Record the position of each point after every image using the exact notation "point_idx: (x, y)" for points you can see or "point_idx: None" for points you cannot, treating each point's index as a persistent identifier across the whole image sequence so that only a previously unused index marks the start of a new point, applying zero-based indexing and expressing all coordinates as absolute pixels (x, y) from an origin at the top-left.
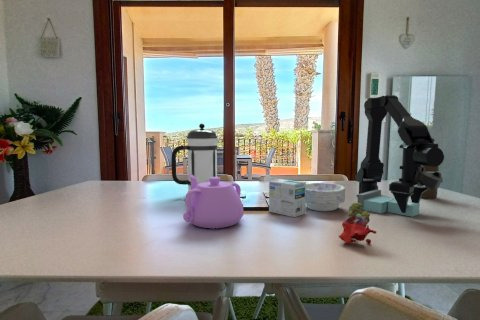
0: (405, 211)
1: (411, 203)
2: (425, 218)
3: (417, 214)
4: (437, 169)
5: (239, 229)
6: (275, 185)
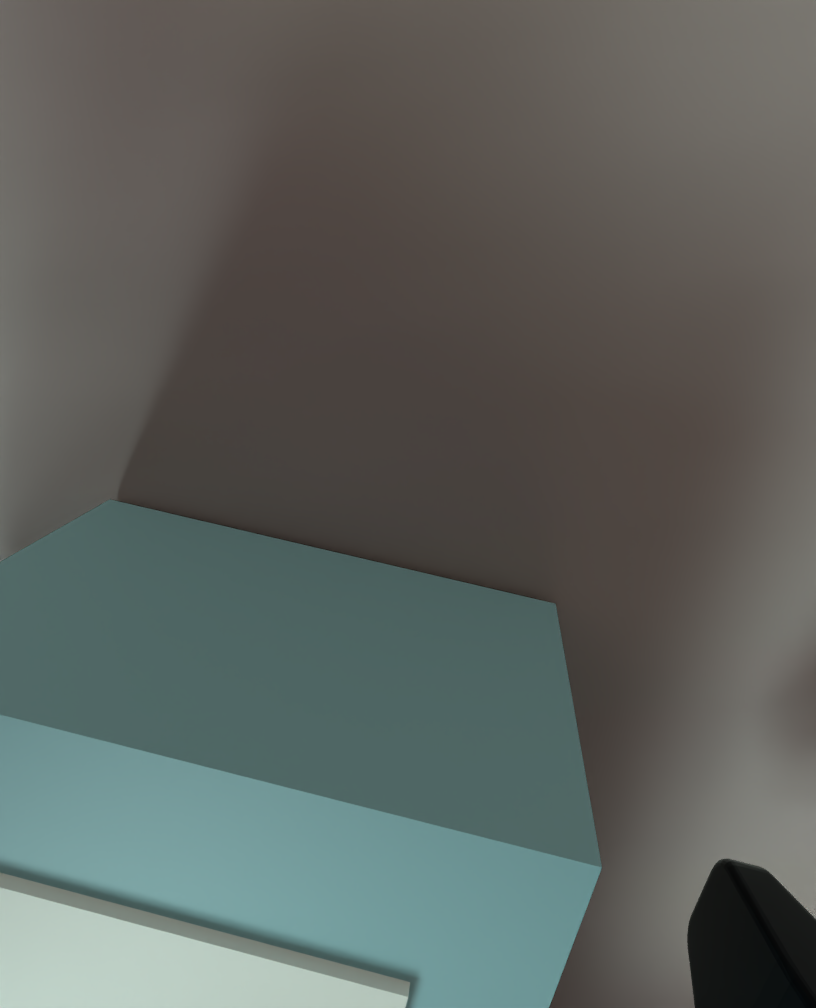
0: (781, 898)
1: (131, 958)
2: (495, 258)
3: (212, 526)
4: None
5: None
6: None
